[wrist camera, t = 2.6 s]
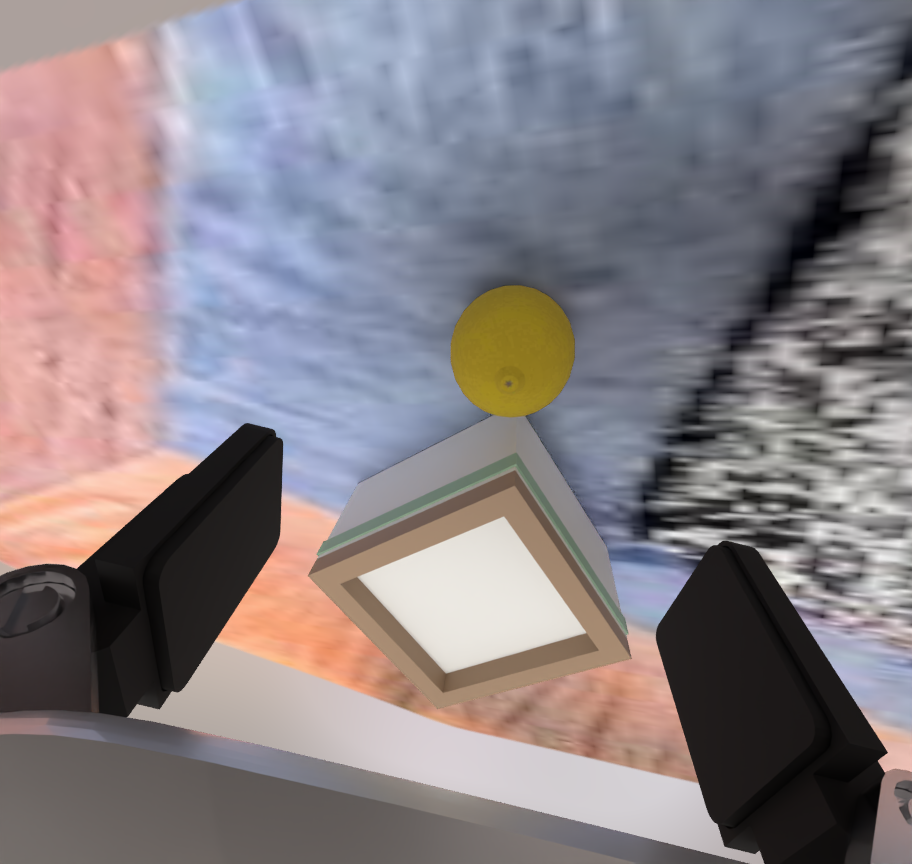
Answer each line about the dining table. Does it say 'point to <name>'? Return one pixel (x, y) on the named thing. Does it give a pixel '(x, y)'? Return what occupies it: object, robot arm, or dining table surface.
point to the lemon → (512, 351)
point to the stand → (475, 567)
